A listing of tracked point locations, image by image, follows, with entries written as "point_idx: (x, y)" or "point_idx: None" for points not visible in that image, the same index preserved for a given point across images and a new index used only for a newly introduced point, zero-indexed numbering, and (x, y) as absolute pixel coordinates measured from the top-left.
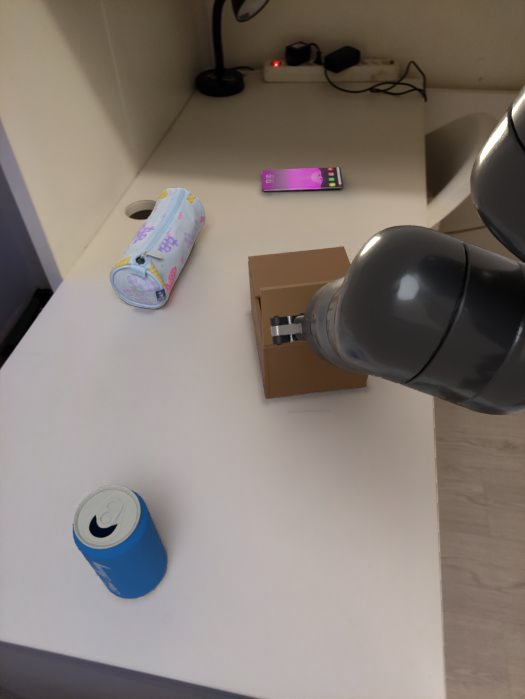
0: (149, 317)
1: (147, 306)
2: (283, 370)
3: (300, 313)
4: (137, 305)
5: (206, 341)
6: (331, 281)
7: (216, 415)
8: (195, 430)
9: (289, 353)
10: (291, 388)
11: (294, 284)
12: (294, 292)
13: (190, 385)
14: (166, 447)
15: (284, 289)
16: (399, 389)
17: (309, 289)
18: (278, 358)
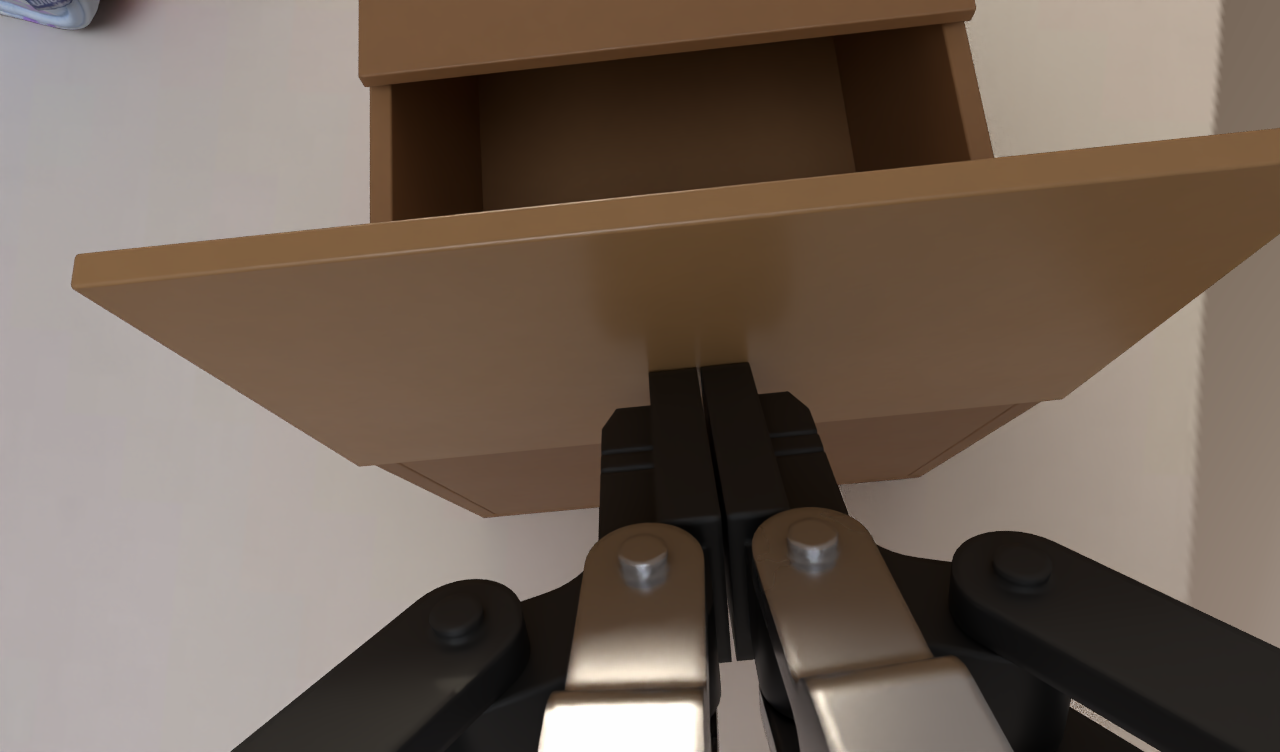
0: (55, 71)
1: (40, 19)
2: (527, 486)
3: (433, 632)
4: (5, 12)
5: (269, 202)
6: (808, 196)
7: (273, 590)
8: (181, 663)
9: (536, 461)
10: (586, 501)
11: (421, 220)
12: (438, 284)
13: (183, 427)
14: (57, 743)
15: (320, 275)
16: (1066, 499)
17: (580, 265)
18: (481, 472)
